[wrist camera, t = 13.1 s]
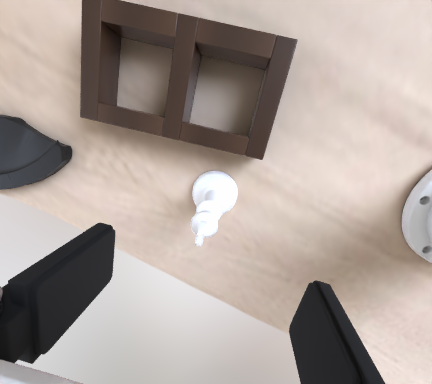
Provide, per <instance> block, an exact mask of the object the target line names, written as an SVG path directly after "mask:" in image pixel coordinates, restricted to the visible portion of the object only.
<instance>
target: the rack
mask: <svg viewBox="0 0 432 384" xmlns="http://www.w3.org/2000/svg"><path fill="white" fill-rule="evenodd" d="M121 37H123V38H128V39H132V40H136V41H141V42H145V43H150V44H154V45H159V46H163V47H168V48H172V49H174V50H173V57H172V65H171V72H170V80H169V87H168V95H167V102H166V110H165V117H162V116H158V115H154V114H149V113H145V112H141V111H136V110H132V109H128V108H124V107H119V106H117V92H118V76H119V61H120V45H121ZM296 44H297V39H292V38H288V37H283V36H279V35H277V36H276V35H275V34H270V33H265V32H261V31H256V30H252V29H247V28H243V27H238V26H234V25H229V24H225V23H220V22H216V21H211V20H206V19H202V18H198V17H193V16H189V15H184V14H178V13H175V12H170V11H166V10H161V9H157V8H152V7H148V6H143V5H138V4H134V3H129V2H125V1H120V0H82V37H81V110H80V117H82V118H87V119H91V120H95V121H99V122H104V123H108V124H112V125H116V126H121V127H125V128H129V129H133V130H137V131H142V132H146V133H150V134H154V135H159V136H163V137H167V138H171V139H176V140H180V141H184V142H188V143H193V144H197V145H201V146H205V147H210V148H214V149H218V150H222V151H227V152H231V153H235V154H239V155H245V156H248V157H252V158H256V159H260V160H262V159H263V157H264V153H265V150H266V147H267V143H268V140H269V136H270V133H271V130H272V126H273V123H274V119H275V116H276V112H277V109H278V106H279V102H280V99H281V95H282V92H283V89H284V85H285V82H286V78H287V75H288V71H289V68H290V65H291V61H292V58H293V54H294V51H295V48H296ZM201 55H203V56H208V57H212V58H216V59H221V60H225V61H230V62H234V63H239V64H243V65H248V66H252V67H257V68H261V69H265V73H264V77H263V81H262V85H261V88H260V92H259V96H258V100H257V104H256V108H255V111H254V115H253V119H252V123H251V127H250V130H249V134H248V137H247V136H243V135H239V134H235V133H231V132H226V131H222V130H218V129H213V128H209V127H205V126H201V125H196V124H192V123H189V122H190V117H191V111H192V105H193V99H194V93H195V87H196V82H197V76H198V70H199V64H200V58H201Z"/></svg>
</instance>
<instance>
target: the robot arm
mask: <svg viewBox="0 0 432 384" xmlns="http://www.w3.org/2000/svg"><path fill="white" fill-rule="evenodd" d="M402 231H403V234H404V237H405V240H406V241H407V243H408V244H409V246H410V247H411V249H413V250H414V251H415V252H416V253H417V254H418V255H419V256H421V257H423V258H424V259H426V260H427V261H428V262H430V263H432V170H431V171H429V172H428V173H427V174H426V175H425V176H424V177H423V178H422V179H421V180H420V181H419V182H418V183H417V185H416V186H415V187H414V188H413V190H412V192H411V193H410V195H409V197H408V198H407V201H406V203H405V206H404V209H403V214H402ZM114 245H115V230H114V229H113V227H112V226H111V225H107V224H104V223H97V224H96V225H94V226H93V227H91V228H90V229H88V230H86V231H85V232H83V233H82V234H80V235H79V236H77V237H76V238H74V239H73V240H71V241H69V242H68V243H66V244H65V245H63V246H62V247H60V248H58V249H57V250H55V251H54V252H52V253H51V254H49V255H48V256H46V257H44V258H43V259H41V260H40V261H38V262H37V263H35V264H34V265H32V266H30V267H29V268H27V269H26V270H24V271H23V272H21V273H20V274H18V275H16V276H15V277H13V278H12V279H10V280H9V281H8V284H7V285H5V286H4V287H2V288H1V287H0V384H81V383H78V382H75V381H72V380H69V379H66V378H62V377H59V376H56V375H53V374H49V373H46V372H42V371H39V370H35V369H32V368H28V367H25V366H21V365H18V364H14V363H15V362H16V361H17V360H21V361H25V362H28V363H31V364H32V363H34V361H35V360H36V359H37V358H38V357H39V356H40V355H41V354H45V353H47V352H48V351H49V350H50V349H51V348H52V347H53V345H54V344H55V343H56V342H57V341H58V340H59V338H60V337H61V336H62V335H63V334H64V333H65V332H66V330H67V329H68V328H69V327H70V326H71V325H72V324H73V323H74V322H75V320H76V319H77V318H78V317H79V316H80V315H81V314H82V312H83V311H84V310H85V309H86V308H87V307H88V306H89V304H90V303H91V302H92V301H93V300H94V299H95V298H96V296H97V295H98V294H99V293H100V292H101V291H102V290H103V288H104V287H105V286H106V285H107V284H108V283H109V282H110V280H111V277H112V273H113V259H114ZM289 333H290V338H291V343H292V347H293V351H294V356H295V360H296V365H297V369H298V373H299V378H300V382H301V384H385V382H384V381H383V379H382V377H381V375H380V373H379V372H378V370H377V368H376V366H375V364H374V363H373V361H372V359H371V357H370V356H369V354H368V352H367V350H366V348H365V347H364V345H363V343H362V341H361V339H360V338H359V336H358V334H357V332H356V331H355V329H354V327H353V325H352V323H351V322H350V320H349V318H348V316H347V314H346V313H345V311H344V309H343V307H342V306H341V304H340V302H339V300H338V298H337V297H336V295H335V293H334V291H333V290H332V288H331V286H330V285H329V284H327V283H323V282H320V281H314V282H313V283H309V285H308V287H307V289H306V291H305V293H304V295H303V298H302V300H301V302H300V304H299V306H298V309H297V311H296V313H295V315H294V318H293V320H292V322H291V324H290V328H289Z"/></svg>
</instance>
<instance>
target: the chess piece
mask: <svg viewBox="0 0 432 384" xmlns="http://www.w3.org/2000/svg"><path fill="white" fill-rule="evenodd" d="M192 195H193V200H194V202H195V204H196V206H197V208H196V214H195V215H194V216H193V218H192V220H191V228H192V231H193V232H194V233H195V234H196V235H197V236H196V241H195V242H196V244H195V245H199V246H202V243H203V239H204V237H205V238H206V237H210V236H212V235H214V234H215V233H216V231H217V229H218V220H219V219H220V217H221V214H224V213H226V212H228V211H229V210H230V209H231V208H232V207H233V206H234V204H235V202H236V200H237V195H238V190H237V186H236V184H235V182H234V180H233V179H232V178H231V177H230V176H229V175H227V174H226V173H223V172H220V171H209V172H206V173H204V174H202V175H201V176H199V177H198V179H197V180H196V181H195V183H194V186H193V191H192Z"/></svg>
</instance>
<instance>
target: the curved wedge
mask: <svg viewBox="0 0 432 384" xmlns="http://www.w3.org/2000/svg"><path fill="white" fill-rule="evenodd" d="M71 157H72V149H71V146H68V145H65V144H62V143H60V142H58V140H57V141H55V140H53V139H51V138H49V137H47V136H45V135H43V134H42V133H40V132H39V131H37V130H36V129H34V128H32V127H31V126H30V125H28V124H27V123H26V122H25V121H24V120H22V119H21V118H17V117H11V116H5V115H0V189H11V188H16V187H20V186H24V185H28V184H32V183H35V182H39V181H42V180H43V179H45V178H47V177H49V176H51V175H53V174H55V173H56V172H57V171H59V170H60V169H61V168H62V167H63V166H64V165H65V164H66V163H68V162H69V161H70V160H71Z"/></svg>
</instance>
